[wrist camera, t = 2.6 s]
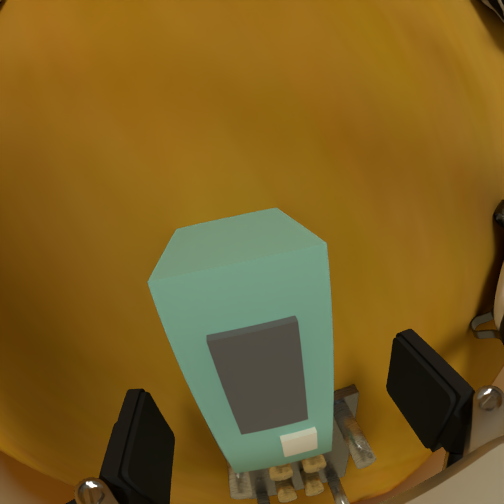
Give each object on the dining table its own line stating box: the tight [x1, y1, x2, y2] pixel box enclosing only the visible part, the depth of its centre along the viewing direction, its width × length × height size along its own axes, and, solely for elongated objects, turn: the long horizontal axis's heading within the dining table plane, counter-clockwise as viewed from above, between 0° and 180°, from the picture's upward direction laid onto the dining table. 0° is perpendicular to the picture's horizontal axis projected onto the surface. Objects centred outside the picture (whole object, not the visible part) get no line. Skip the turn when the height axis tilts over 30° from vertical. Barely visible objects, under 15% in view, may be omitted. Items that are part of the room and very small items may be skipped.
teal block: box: [147, 208, 334, 473], centre depth 11 cm, size 10×4×6 cm, turn 10°
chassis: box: [209, 385, 376, 504], centre depth 16 cm, size 15×10×6 cm, turn 10°
